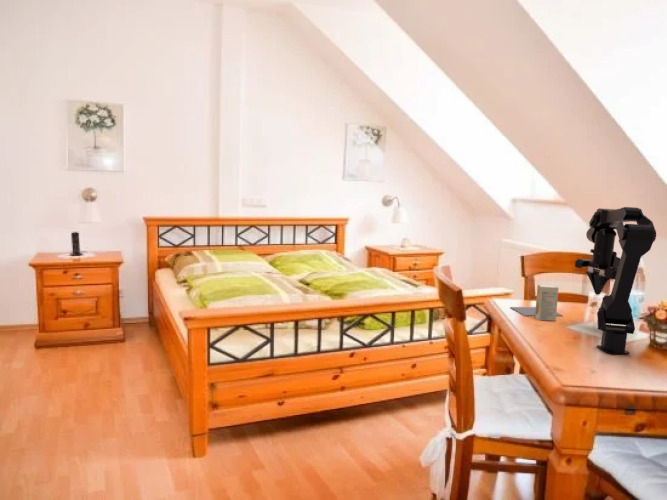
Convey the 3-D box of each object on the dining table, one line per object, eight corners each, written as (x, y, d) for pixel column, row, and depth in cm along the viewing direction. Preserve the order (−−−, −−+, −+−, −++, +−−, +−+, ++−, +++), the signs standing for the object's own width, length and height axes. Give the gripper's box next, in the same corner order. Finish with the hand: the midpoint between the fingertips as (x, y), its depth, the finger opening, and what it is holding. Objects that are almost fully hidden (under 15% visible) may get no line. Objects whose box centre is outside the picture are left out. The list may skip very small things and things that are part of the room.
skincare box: (552, 318, 191) (555, 284, 189) (555, 321, 187) (559, 287, 185) (533, 316, 192) (537, 283, 190) (537, 320, 188) (540, 286, 186)
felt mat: (562, 316, 194) (562, 315, 194) (524, 316, 192) (524, 315, 192) (546, 308, 205) (546, 307, 205) (510, 308, 203) (510, 307, 203)
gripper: (647, 253, 164) (640, 301, 167) (605, 242, 182) (599, 286, 185) (616, 253, 162) (609, 302, 165) (576, 242, 180) (571, 287, 183)
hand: (597, 294), depth 174 cm, fingers closed
